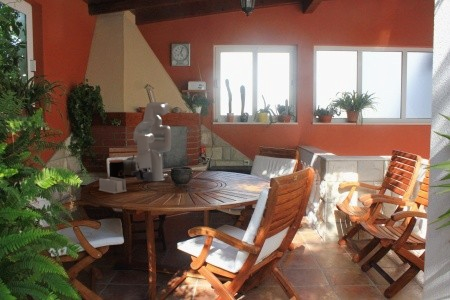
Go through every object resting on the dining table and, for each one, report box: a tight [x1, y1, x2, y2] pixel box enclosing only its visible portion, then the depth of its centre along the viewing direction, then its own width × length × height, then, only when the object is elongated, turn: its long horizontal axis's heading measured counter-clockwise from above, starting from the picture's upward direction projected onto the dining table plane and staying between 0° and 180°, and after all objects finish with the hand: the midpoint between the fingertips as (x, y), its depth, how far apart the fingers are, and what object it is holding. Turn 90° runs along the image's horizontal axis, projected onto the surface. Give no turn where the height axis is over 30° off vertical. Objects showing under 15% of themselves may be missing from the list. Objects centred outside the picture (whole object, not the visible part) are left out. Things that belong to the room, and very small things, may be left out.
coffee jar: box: [108, 158, 126, 179], centre depth 299 cm, size 11×11×18 cm
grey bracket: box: [131, 171, 154, 182], centre depth 283 cm, size 7×14×6 cm, turn 48°
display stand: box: [98, 176, 128, 194], centre depth 278 cm, size 10×18×8 cm, turn 48°
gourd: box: [123, 154, 145, 177], centre depth 345 cm, size 25×25×17 cm
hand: (144, 177), depth 285 cm, fingers closed on grey bracket, 3 cm apart
